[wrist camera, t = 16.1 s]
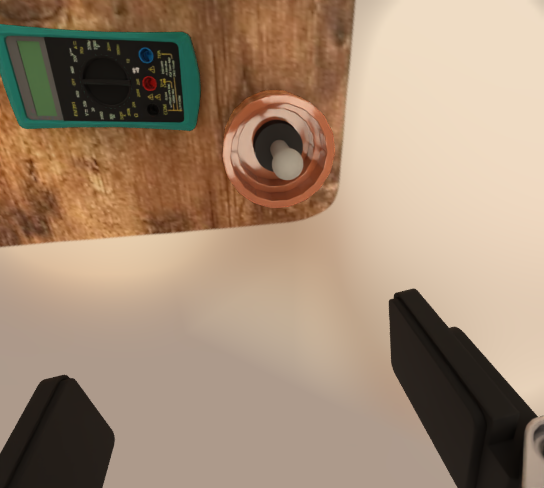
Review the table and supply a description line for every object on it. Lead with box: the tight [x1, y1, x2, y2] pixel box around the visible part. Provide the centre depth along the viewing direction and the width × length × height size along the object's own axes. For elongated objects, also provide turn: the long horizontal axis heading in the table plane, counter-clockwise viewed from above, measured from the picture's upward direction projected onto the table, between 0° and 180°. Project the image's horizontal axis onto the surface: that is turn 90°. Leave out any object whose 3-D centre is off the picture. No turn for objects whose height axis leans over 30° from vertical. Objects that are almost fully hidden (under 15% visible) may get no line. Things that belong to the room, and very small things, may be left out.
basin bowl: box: [222, 90, 335, 208], centre depth 31 cm, size 9×10×5 cm
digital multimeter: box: [0, 24, 201, 131], centre depth 28 cm, size 7×15×3 cm, turn 88°
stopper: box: [253, 120, 303, 180], centre depth 29 cm, size 4×4×8 cm
